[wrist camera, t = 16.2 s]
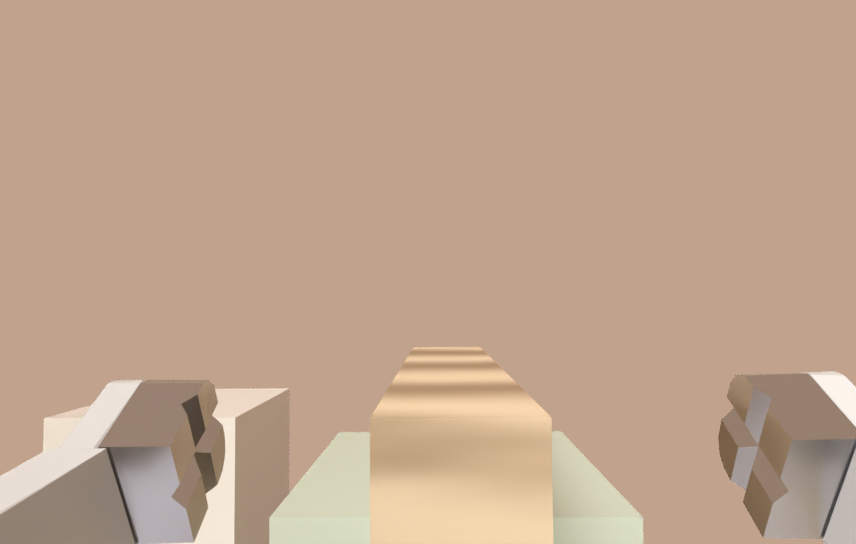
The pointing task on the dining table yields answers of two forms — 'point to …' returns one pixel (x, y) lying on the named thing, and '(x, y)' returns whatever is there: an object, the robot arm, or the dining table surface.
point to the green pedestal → (350, 499)
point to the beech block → (459, 455)
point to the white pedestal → (231, 463)
